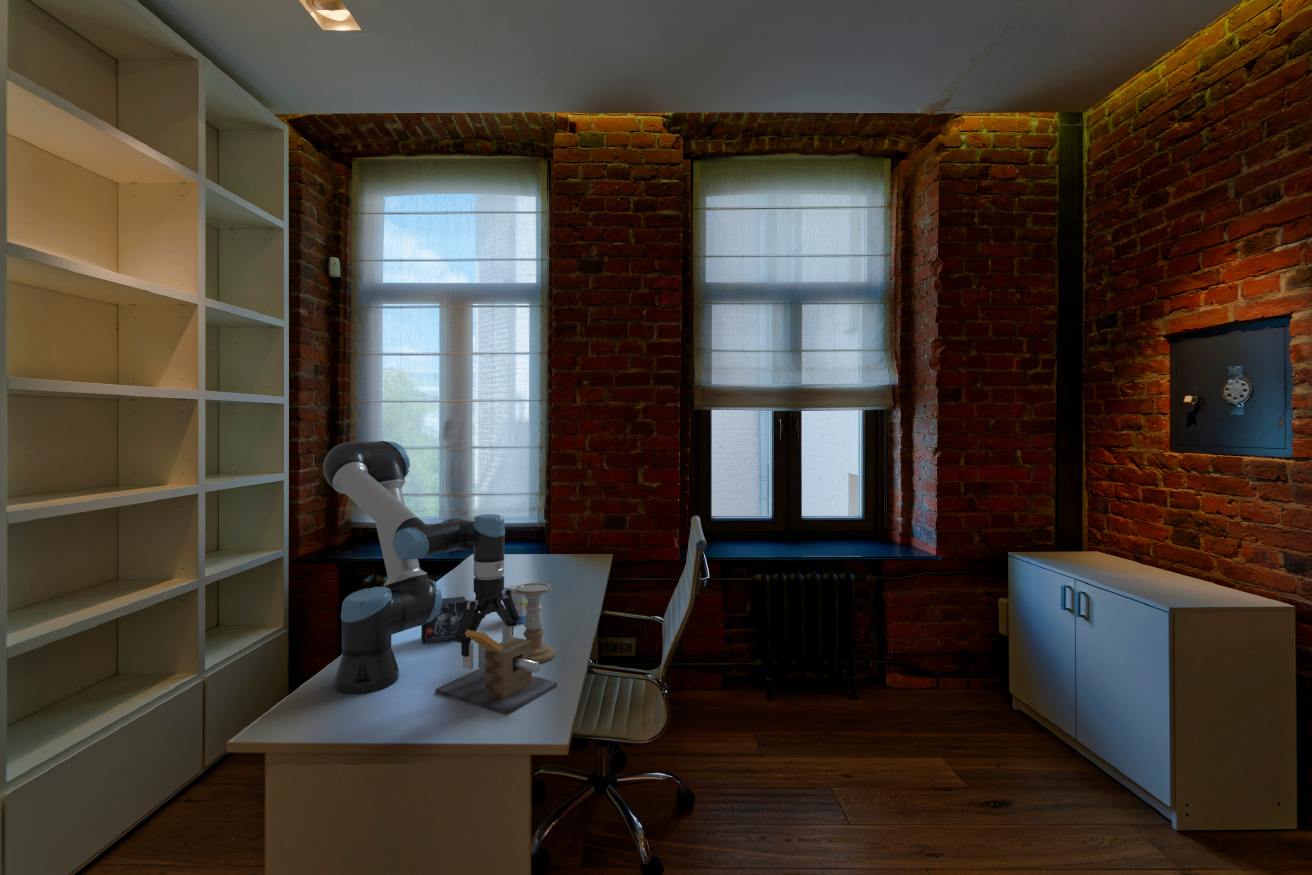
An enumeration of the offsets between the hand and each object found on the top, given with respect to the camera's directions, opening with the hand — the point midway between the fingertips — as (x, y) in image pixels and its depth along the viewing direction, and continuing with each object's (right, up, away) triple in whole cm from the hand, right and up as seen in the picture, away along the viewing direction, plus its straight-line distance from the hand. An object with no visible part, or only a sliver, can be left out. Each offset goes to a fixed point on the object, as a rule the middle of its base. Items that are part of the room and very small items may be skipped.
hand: (488, 659), depth 156 cm
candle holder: (+7, -7, +21) cm, 24 cm away
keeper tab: (+2, +8, -11) cm, 13 cm away
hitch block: (+3, -7, -1) cm, 8 cm away
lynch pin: (+6, -2, -3) cm, 7 cm away
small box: (-24, -7, +37) cm, 45 cm away
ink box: (-4, -7, +56) cm, 57 cm away
